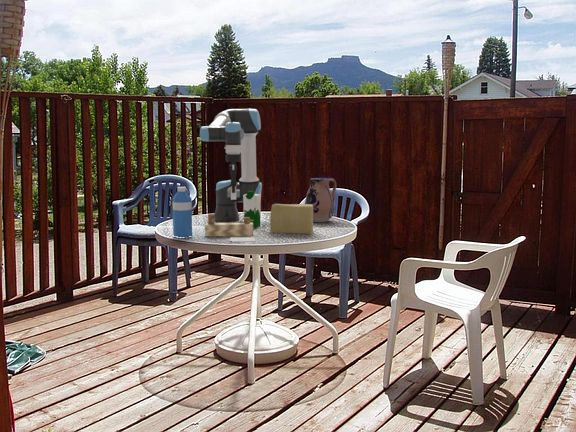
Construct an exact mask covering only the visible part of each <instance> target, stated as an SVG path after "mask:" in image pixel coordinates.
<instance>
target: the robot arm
mask: <svg viewBox="0 0 576 432" xmlns="http://www.w3.org/2000/svg"><path fill="white" fill-rule="evenodd" d="M261 124H262V123H261V116H260V112H259V111H258V109H256V108H230V109H229V108H228V109H226V110H223V111H221V112H219V113H217V115H215V117H214V119H213V121H212V122H211V123H210V124H209V125H206V126H200V128H199V138H200V140H201V141H202V142H225V146H224V149H225V153H226V154H225V162H227V163H230V164H229V166H228V167H229V174H230V179H228V180H221V181H218V182H217V183H216V186H215V187H216V188H215V196H216V197H215V198H216V201H215V202H216V203H215V204H216V207H215V210H214V212H213V214H214V222H215V221H216V222H236V221H237V222H238V221H239V220H240V214H239V211H238V208H237V203H244V202H243V195H245V194H247V191H254V194H261V195H262V190H263V189H262V188H263V183H262V182H260V178H259V177H258V175H257V143H256V142H257V139H256V136H257V135H258V134H259V131H261V127H262V126H261ZM239 162H240V165H241V167H240V168H241V177H240V178H239V179H238V181H237V174H238V173H237V172H238V171H237V170H238V165H237V164H236V163H239ZM229 188H231V197H227V191H228V189H229ZM236 189H240V197H236Z"/></svg>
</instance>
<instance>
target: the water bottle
mask: <svg viewBox="0 0 576 432" xmlns="http://www.w3.org/2000/svg"><path fill="white" fill-rule="evenodd" d="M192 207H193V203H192V196H190V194H189V193H188V192H187V187H185V186H177V191H176V193H175V194H174V195H173V197H172V230H173V231H172V232H173V233H172V235H174V236H178V237H189V236H192V237H193V213H192V212H193V209H192Z"/></svg>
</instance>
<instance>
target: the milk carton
mask: <svg viewBox="0 0 576 432" xmlns="http://www.w3.org/2000/svg"><path fill="white" fill-rule="evenodd" d="M261 197H262V193H261V194H254V191H247V194H245V195H243V202H242V203H243V218H244V217H250V223H253V229H258V228H260V227H261V224H262V223H261V221H262V220H261V216H262V215H261V214H262V213H261V199H262V198H261Z"/></svg>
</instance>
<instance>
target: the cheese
mask: <svg viewBox="0 0 576 432" xmlns="http://www.w3.org/2000/svg"><path fill="white" fill-rule="evenodd" d="M270 208H271V209H270V216H269V218H270V220H269V221H270V222H269V225H270V226H269V228H270V229H269V231H270V233H271V234H272V233H275V234H276V233H278V234H295V233H296V234H299V235H300V234H301V235H312V234H313V233H314V222H313V205H312V204H305V203H304V204H301V203H299V204H298V203H294V204H293V203H291V204H288V203H287V204H286V203H284V204H283V203H273V204H272V205H271V207H270Z"/></svg>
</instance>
